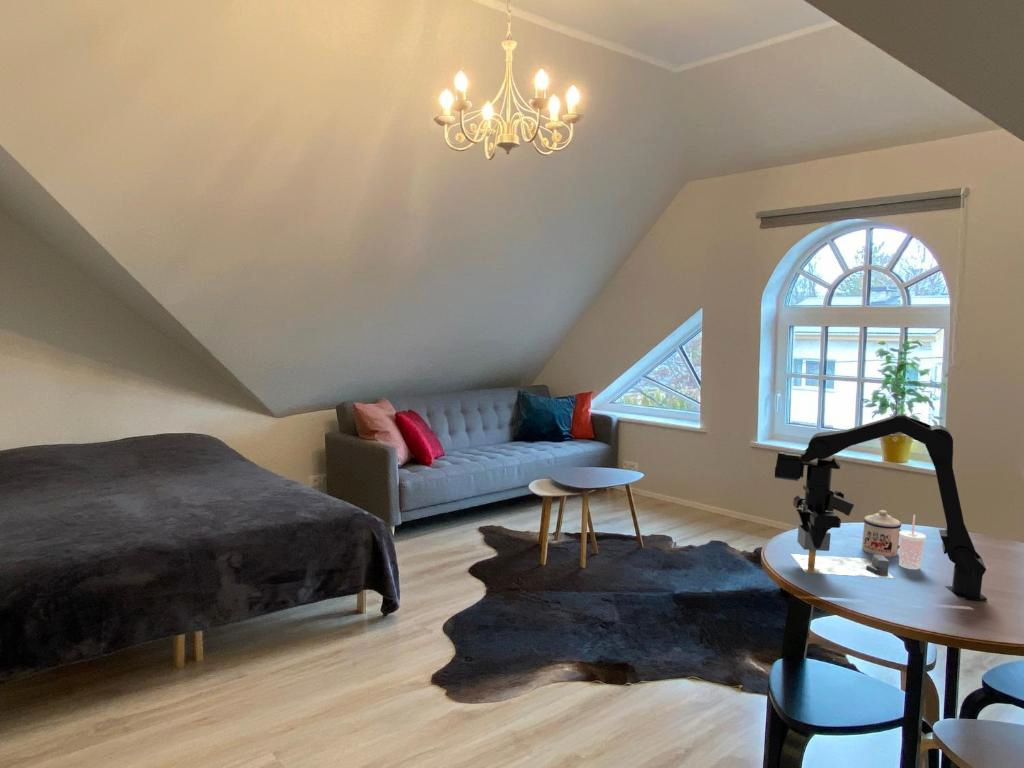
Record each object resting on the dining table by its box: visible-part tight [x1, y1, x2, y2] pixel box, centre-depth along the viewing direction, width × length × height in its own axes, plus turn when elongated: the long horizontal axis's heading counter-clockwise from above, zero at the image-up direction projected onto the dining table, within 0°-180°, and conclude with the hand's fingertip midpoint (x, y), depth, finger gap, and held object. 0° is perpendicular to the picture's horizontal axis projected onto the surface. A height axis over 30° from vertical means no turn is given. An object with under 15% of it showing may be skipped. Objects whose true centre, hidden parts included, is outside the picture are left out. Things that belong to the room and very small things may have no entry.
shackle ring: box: [797, 524, 832, 552], centre depth 188 cm, size 6×6×4 cm
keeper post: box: [808, 550, 817, 566], centre depth 188 cm, size 2×2×5 cm
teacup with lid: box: [861, 509, 904, 557], centre depth 200 cm, size 12×9×12 cm
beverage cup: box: [898, 514, 927, 570], centre depth 190 cm, size 6×6×14 cm
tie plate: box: [790, 553, 895, 579], centre depth 189 cm, size 13×21×4 cm, turn 85°
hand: (813, 543), depth 188 cm, fingers closed on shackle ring, 6 cm apart
